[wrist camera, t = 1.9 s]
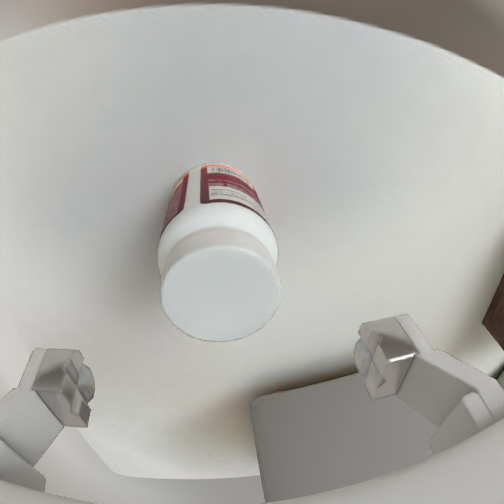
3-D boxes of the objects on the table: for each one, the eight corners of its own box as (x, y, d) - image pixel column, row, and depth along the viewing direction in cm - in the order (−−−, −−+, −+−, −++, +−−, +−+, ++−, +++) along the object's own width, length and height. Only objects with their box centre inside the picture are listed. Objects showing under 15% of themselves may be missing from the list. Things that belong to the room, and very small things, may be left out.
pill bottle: (196, 253, 19) (194, 365, 12) (155, 185, 16) (118, 275, 9) (270, 220, 18) (310, 320, 11) (235, 146, 16) (260, 208, 9)
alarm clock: (382, 427, 36) (426, 539, 20) (268, 457, 36) (293, 581, 20) (415, 331, 26) (510, 500, 10) (243, 376, 25) (281, 594, 10)
